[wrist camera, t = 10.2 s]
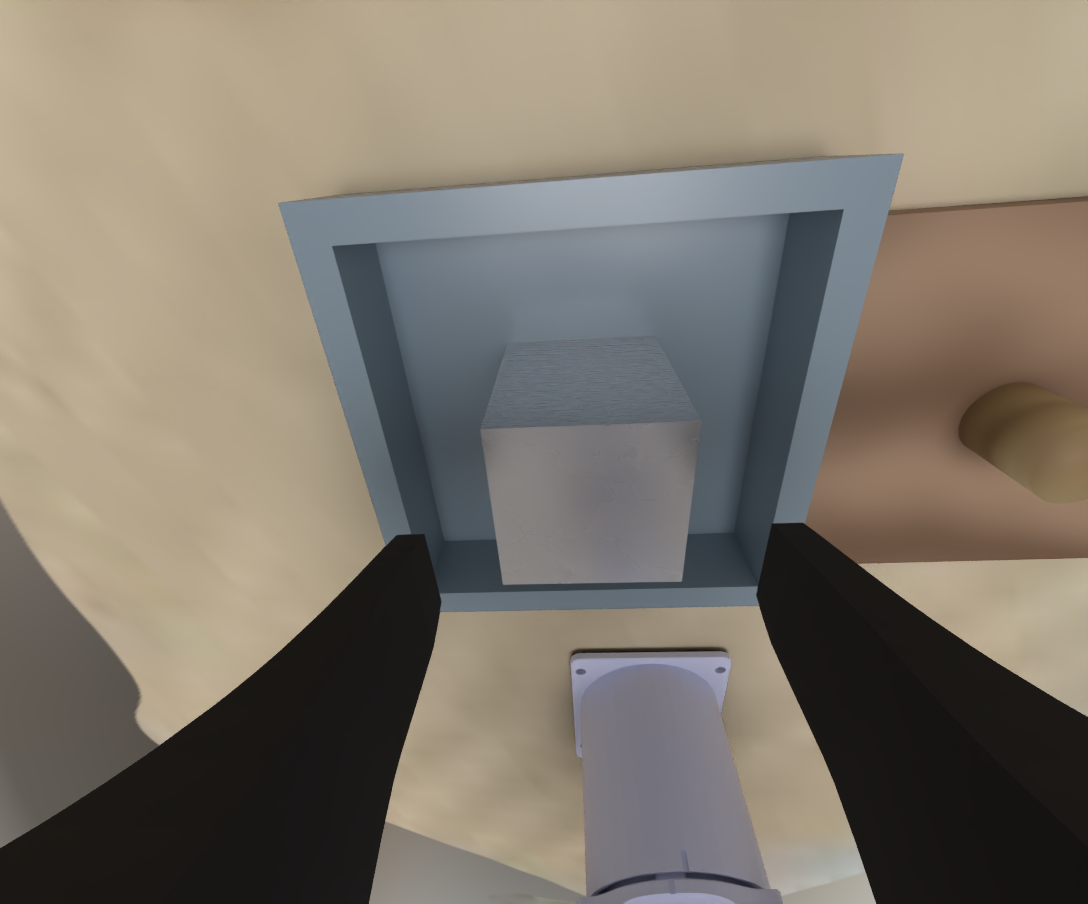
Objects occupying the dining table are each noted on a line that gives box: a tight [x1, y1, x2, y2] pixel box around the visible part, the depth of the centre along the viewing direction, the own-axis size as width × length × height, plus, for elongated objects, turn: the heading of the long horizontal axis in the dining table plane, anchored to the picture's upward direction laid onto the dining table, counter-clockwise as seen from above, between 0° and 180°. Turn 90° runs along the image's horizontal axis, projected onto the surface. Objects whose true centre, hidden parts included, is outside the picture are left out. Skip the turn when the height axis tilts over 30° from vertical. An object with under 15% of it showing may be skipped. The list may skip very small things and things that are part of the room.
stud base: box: [805, 197, 1088, 564], centre depth 15 cm, size 13×13×4 cm
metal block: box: [480, 336, 701, 585], centre depth 14 cm, size 5×5×6 cm
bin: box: [278, 154, 904, 612], centre depth 16 cm, size 14×14×4 cm
